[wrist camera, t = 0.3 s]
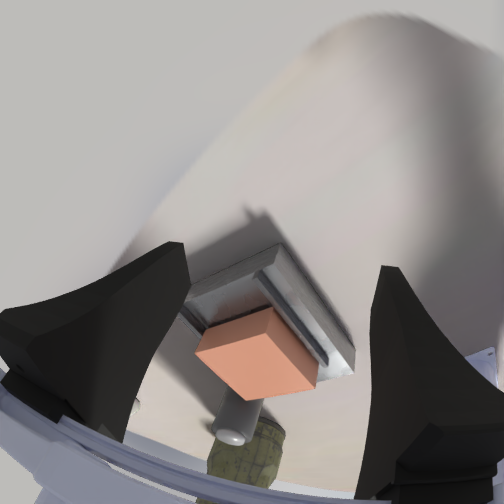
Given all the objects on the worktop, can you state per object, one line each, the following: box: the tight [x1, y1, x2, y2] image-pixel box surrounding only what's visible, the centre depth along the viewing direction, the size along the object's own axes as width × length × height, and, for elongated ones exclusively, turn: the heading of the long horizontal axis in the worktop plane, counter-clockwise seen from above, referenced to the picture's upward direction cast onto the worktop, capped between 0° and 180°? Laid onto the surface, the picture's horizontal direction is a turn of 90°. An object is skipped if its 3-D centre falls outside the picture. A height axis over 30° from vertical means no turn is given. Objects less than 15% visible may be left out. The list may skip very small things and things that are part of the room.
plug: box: [212, 385, 264, 446], centre depth 30 cm, size 4×4×7 cm
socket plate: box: [177, 243, 356, 382], centre depth 25 cm, size 12×10×3 cm
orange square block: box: [195, 307, 319, 401], centre depth 23 cm, size 6×6×2 cm
